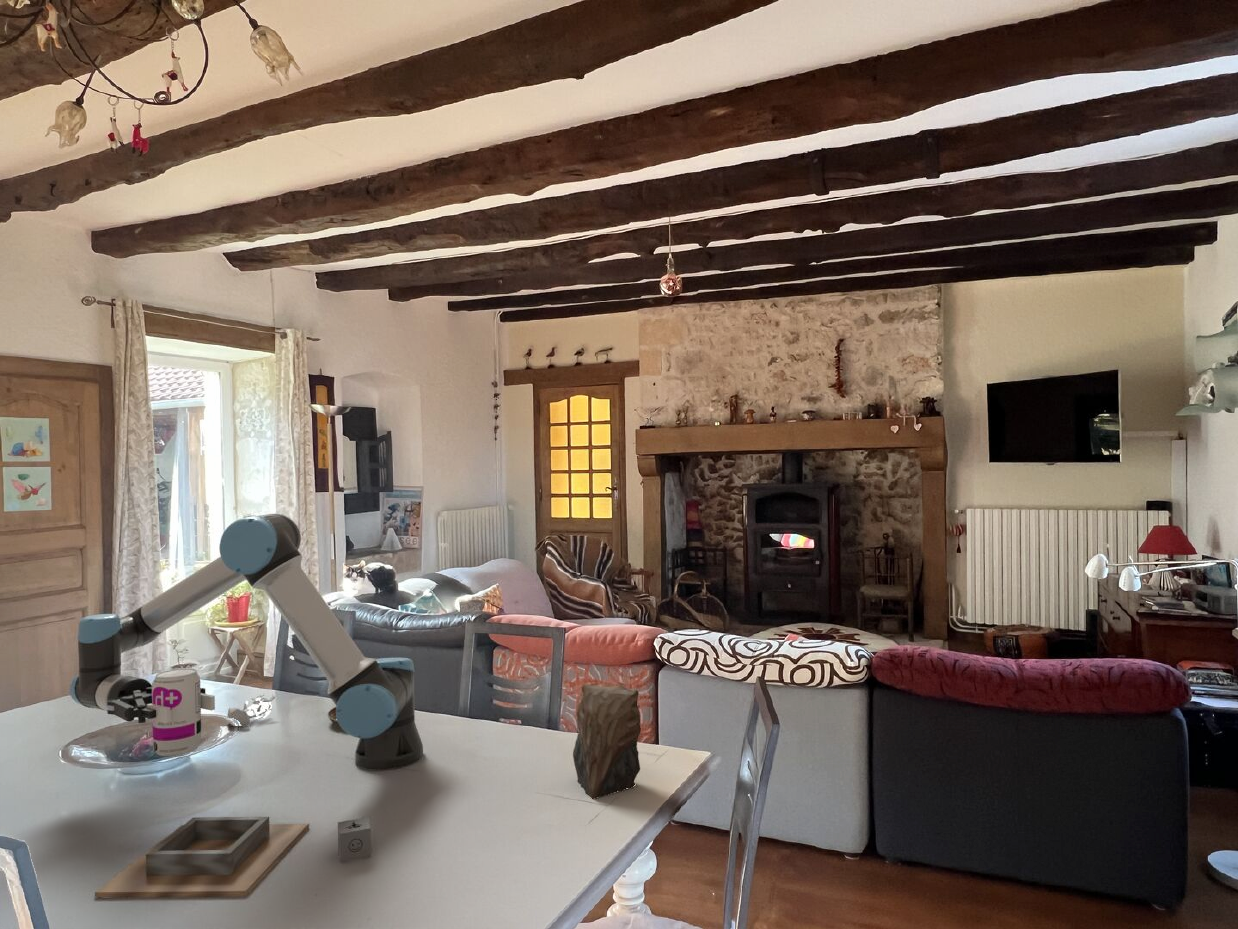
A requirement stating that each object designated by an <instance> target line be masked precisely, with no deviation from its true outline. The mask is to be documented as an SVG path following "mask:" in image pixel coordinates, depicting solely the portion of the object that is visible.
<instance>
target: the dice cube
mask: <svg viewBox="0 0 1238 929" xmlns="http://www.w3.org/2000/svg"><path fill="white" fill-rule="evenodd" d="M371 829H372V828H371V825H370V822H369V818H368V816H365V817H359V818H355V819H353V818H352V819H349V820H343V821H339V822H337V850H338V857H339V863H340V864H343V863H349V862H354V861H358V860H362V859H363V860H364V859H368V858H371V857H372V839H371V838H372V835H371V834H372V832H371V831H372V830H371Z"/></svg>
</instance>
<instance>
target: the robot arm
mask: <svg viewBox="0 0 1238 929" xmlns="http://www.w3.org/2000/svg"><path fill="white" fill-rule="evenodd" d="M301 537H302V536H301V531H300V528H299V526H298V525H297V523H295V521H293V520H292V518H289V516H286V515H284V514H280V513H267V514H262V515H256V514H255V515H248V516H244V517H242V518H239V519H237V520H235V521H233V522H231V523H230V524H229V525H228V526H227V527H226V529H225V530H224V531H223V533H222V534H221V537H220V542H219V548H218V549H219V557H217V558H216V559H214V560H213V561H211V562H209V563H208V564H206V565H204V567H203V566H202V568H200V569H199V570H197V571H195V572H194V573H192V574H190V575H189V576H187V577H186V578H185V579H183V580H181V581H180V582H178V583H176V584H175V585H174V586H173V585H172V587H169V588H168V589H167V590H165V591H163V592H162V593H160V594H159V595H157V596H155V597H154V598H153V599H151V600H150V601H148V602H146V603H145V604H143V605H142V606H140V607H139V608H137V609H135V610H133V611H132V612H130V613H129V614H127V615H125V616H123V617H120V616H119V615H118V614H116V613H103V614H102V613H101V614H93V615H88V616H84V617H82V618H81V619H80V620H79V622H78V632H77V633H78V634H77V644H78V645H77V646H78V648H77V649H78V650H77V651H78V674H77V675H76V676H75V677H74V679H73V680H72V682H71V684H70V687H69V693H70V696H71V698H72V699H73V701H74V702H76V703H77V704H78V705H81V706H83V707H85V708H89V709H95V710H101V711H106V713H107V715H113V716H115V717H117V718H120V719H122V720H123V721H126V722H133V721H134V720H135V718H137V719H138V720H137V721H138V724H143V723H146V721H147V720H152V721H153V720H155V721H159V722H163V723H169V722H171V715H170V708H169V707H165V706H160V705H155V704H152V683H150V682H149V681H148V680H147V679H146V678H145V679H144V678H143V677H142V678H140V677H135V676H132V675H126V674H122V654H123V653H126V652H128V651H130V650H134V649H136V648H140V647H143V646H145V645H146V646H147V645H148V644H150V643H152V642H153V641H155V640H156V639H157V638H158V637H159V636H160V635H161V634H163V633H164V632H165V631H167V630H168V629H170V628H171V627H173V626H175V625H176V624H178V623H179V622H181V621H182V620H184V619H186V618H188V617H189V616H191V615H192V614H193V613H196V612H197V611H198V610H200V609H202V608H203V607H205V606H206V605H209V603H211V602H213V601H214V600H216V599H217V598H219V597H220V596H222V595H224V594H225V593H227V592H228V591H230V590H232V589H233V588H235V587H236V586H238V585H239V584H241V583H243V582H245V581H247V582H248V584H249V585H250V586H251V588H252V589H255V590H261V591H264V593H265V594H266V595H267V597H268V598H269V599H270V601H271V602H272V604H273V605H274V607H275V608H276V609H277V610H278V612H279V614H280V615H281V617H282V618H283V619H284V621H285V622H286V623H287V625H288V627H290V629H291V630H292V631H293V632H292V633H294V635H295V636H296V637H297V639H298V641H299V642H300V643H301V644H302V646H303V648H305V650H306V652H307V654H309V656H310V657H311V659H312V660H313V661H314V663H315V664H316V665H317V667H318V669H319V670H320V672H321V673H322V674H323V675H324V677H325V678H326V680H327V682H328V689H327V694H328V696H329V698H330V699H331V700H332V702H333V703H334V705H335V707H336V718H337V721H338V723H339V725H340V727H341V730H342V731H344V733H346V734H347V735H350V736H351V737H353V738H357V739H358V742H357V745H356V749H355V752H354V764H355V765H356V766H357V767H359V768H361V769H365V770H371V771H372V770H373V771H385V770H394V769H399V768H403V767H407V766H410V765H413V764H415V763H417V762H418V761H420V760H422V758H423V756H424V746H423V742H422V738H421V736H420V734H419V730H418V728H417V725H416V721H415V716H416V715H415V713H416V712H415V672H416V671H415V667H414V661H413V660H412V659H411V658H408V657H383V658H373V657H371V658H370V657H365V656H364V654H363V653H362V651H361V650H360V648H359V647H358V646H357V644H356V643H355V641H354V640H353V639H352V638H351V636H350V634H349V632H347V630H346V629H345V627H344V626H343V625H342V623H341V621H340V620H339V619H338V618H337V617H336V614H335V613H334V612H333V610H332V609H331V607H330V606H329V605H328V604H327V602H326V600H325V599H324V598H323V597H322V595H321V594H320V592H319V591H318V590H317V588H316V587H315V585H314V584H313V582H312V581H311V580H310V578H309V577H308V576H307V574H306V573H305V571H304V570H303V568H302V565H301V564H302V560H303V555H302V554H301V552H300V550H299V549H300V546H301V540H302V538H301ZM200 692H201V710H207V711H214V710H216V703H215V702H216V698H215V695H212V694H207V693H206V688H205V687H200ZM146 719H147V720H146ZM340 727H339V728H340Z"/></svg>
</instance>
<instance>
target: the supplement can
mask: <svg viewBox="0 0 1238 929" xmlns="http://www.w3.org/2000/svg"><path fill="white" fill-rule="evenodd" d="M151 685H152V704H155V705H160V706H165V707H169V708H170V715H171V722H169V723H163V722H159V721H155V720H152V751H153V752H154V753H156V755H158V756H160V757H173V756H180V755H184V754H188V753H191V752H193V751H195V750H197V749H198V748H199V746H200V745H201V744H202V708H201V692H200V688H201V676H200V675H199V674H198V672H197V669H195V668H189V667H188V668H175V669H169V670H164V671H161V672H158V673H156V674H155V675H154V679H153V681H152V683H151Z"/></svg>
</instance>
